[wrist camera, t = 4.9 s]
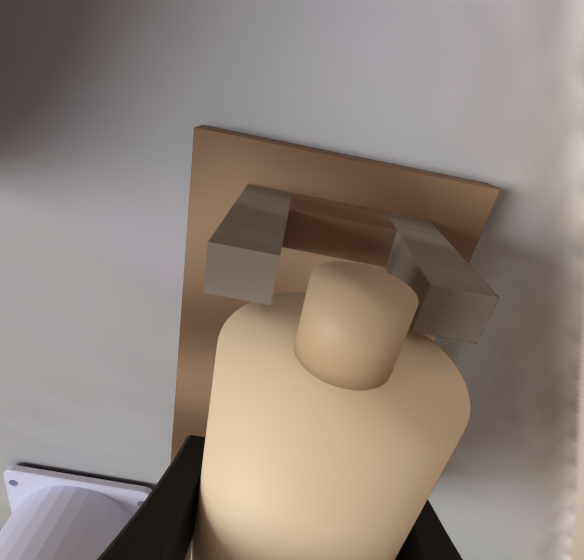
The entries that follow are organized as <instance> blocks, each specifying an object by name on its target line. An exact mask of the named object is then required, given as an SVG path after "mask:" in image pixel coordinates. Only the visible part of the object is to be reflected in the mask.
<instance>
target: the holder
mask: <svg viewBox="0 0 584 560" xmlns="http://www.w3.org/2000/svg"><path fill="white" fill-rule="evenodd" d="M499 191H500V190H499V189H497V188H495V187H493V186H491V185H489V184H487V183H483V182H478V181H473V180H468V179H463V178H458V177H453V176H448V175H444V174H439V173H434V172H429V171H424V170H419V169H414V168H409V167H404V166H400V165H395V164H390V163H385V162H380V161H375V160H370V159H365V158H361V157H356V156H351V155H346V154H341V153H336V152H331V151H326V150H322V149H317V148H312V147H307V146H302V145H297V144H292V143H287V142H283V141H278V140H273V139H268V138H263V137H258V136H253V135H248V134H244V133H239V132H234V131H229V130H224V129H219V128H214V127H209V126H205V125H201V126H198V127H195V128H194V139H193V153H192V168H191V182H190V196H189V210H188V224H187V239H186V253H185V267H184V281H183V295H182V310H181V324H180V338H179V352H178V366H177V381H176V395H175V409H174V423H173V437H172V452H171V463H172V461H173V460H174V458H175V456H176V455H177V453H178V451H179V450H180V448H181V446H182V445H183V443H184V441H185V439H186V437H187V436H189V435H196V436H201V437H206V430H207V422H208V414H209V405H210V397H211V389H212V381H213V373H214V365H215V357H216V349H217V342H218V337H219V334H220V331H221V329H222V327H223V325H224V324H225V322H226V321H227V319H228V318H229V317H230V316H231V315H232V314H233V313H234V312H235V311H236V310H238V309H239V308H241V307H242V306H244V305H246V304H248V303H250V302H256V303H262V304H267V305H271V301H272V296H273V295H274V294H281V293H291V292H306V291H307V287H308V283H309V278H310V274H311V271H312V270H313V268H314V267H316V266H317V265H319V264H322V263H326V262H336V261H341V262H352V263H358V264H363V265H367V266H370V267H374V268H377V269H379V270H382V271H384V272H387V273H389V274H391V275H393V276H395V277H397V278H398V279H400V280H402V281H403V282H404V283H406V284H407V285H408V286H409V287H411V288H412V290H413V291H414V292H415V293H416V295H417V297H418V301H419V302H418V306H417V309H416V312H415V314H414V317H413V319H412V322H411V324H410V328H411V330H412V332H417V333H422V334H425V335H426V336H427V337H429V338H430V339H431V340H432V341H433V342H435V340H436V337H437V336H438V337H443V338H449V339H454V340H459V341H465V342H470V343H475V344H477V342H478V340H479V338H480V336H481V334H482V332H483V330H484V328H485V326H486V324H487V322H488V320H489V318H490V316H491V314H492V312H493V310H494V308H495V306H496V304H497V302H498V300H499V297H498V296H497V295H496V294H495V293H494V291H493V290H492V289H491V288H490V287H489V286H488V285H487V284H486V283H485V281H484V280H483V279H482V278H481V277H480V276H479V275H478V274H477V273H476V272H475V270H474V269H473V268H472V267H471V266H470V265H469V264H468V263H469V261H470V258H471V256H472V254H473V251H474V249H475V247H476V245H477V242H478V240H479V238H480V235H481V233H482V231H483V228H484V226H485V224H486V221H487V219H488V217H489V214H490V212H491V210H492V207H493V205H494V203H495V200H496V198H497V196H498V193H499ZM192 543H193V538H192V541H191V544H190V547H189V550H188V553H187V556H186V559H185V560H190V559H191V551H192Z"/></svg>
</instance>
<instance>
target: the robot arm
mask: <svg viewBox="0 0 584 560" xmlns="http://www.w3.org/2000/svg"><path fill="white" fill-rule="evenodd" d="M205 438H206V437H201V436H196V435H189V436H187V437H186V439H185V441H184V443H183V445H182V446H181V448H180V450H179V451H178V453H177V455H176V456H175V458H174V460H173V461H172V463H171V464H170V466H169V467H168V469H167V470H166V472H165V473H164V475H163V476H162V478H161V479H160V481H159V482H158V483H157V485H156V486H155V487H154V489H153V490H152V489H150V488H149V487H146V486H140V485H134V484H128V483H122V482H116V481H109V480H103V479H97V478H91V477H85V476H79V475H73V474H67V473H61V472H55V471H49V470H43V469H37V468H31V467H25V466H19V465H11V466H9V467H8V468H7V469H6V470H5V472H4V479H5V484H6V488H7V493H8V497H9V502H10V506H11V511H12V515H11V516H10V518H9V519H8V521H7V522H6V523H5V525H4V526H3V528H2V529H1V531H0V560H185V559H186V556H187V553H188V550H189V547H190V544H191V541H192V538H193V535H194V527H195V519H196V511H197V503H198V494H199V486H200V478H201V470H202V462H203V454H204V446H205ZM395 560H463V559H462V558H461V556H460V554H459V553H458V551H457V549H456V548H455V546H454V544H453V543H452V541H451V539H450V538H449V536H448V534H447V533H446V531H445V529H444V527H443V526H442V524H441V522H440V520H439V518H438V517H437V515H436V513H435V511H434V510H433V508H432V506H431V504H430V502H429V501H428V499H427V501H426V503H425V505H424V507H423V509H422V510H421V512H420V514H419V516H418V518H417V520H416V521H415V523H414V525H413V527H412V529H411V531H410V532H409V534H408V536H407V538H406V540H405V542H404V544H403V545H402V547H401V549H400V551H399V553H398V555H397V556H396V558H395Z"/></svg>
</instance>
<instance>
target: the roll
mask: <svg viewBox="0 0 584 560" xmlns="http://www.w3.org/2000/svg"><path fill="white" fill-rule="evenodd" d="M418 302H419V301H418V297H417V295H416V293H415V292H414V291H413V290H412V288H411V287H409V286H408V285H407V284H406V283H404V282H403V281H402V280H400V279H398V278H397V277H395V276H393V275H391V274H389V273H387V272H384V271H382V270H379V269H377V268H374V267H370V266H367V265H363V264H358V263H352V262H341V261H336V262H326V263H322V264H319V265H317V266H316V267H314V268H313V270H312V271H311V274H310V278H309V283H308V287H307V291H306V292H291V293H281V294H274V295H273V296H272V301H271V305H267V304H262V303H256V302H250V303H248V304H246V305H244V306H242V307H241V308H239V309H238V310H236V311H235V312H234V313H233V314H232V315H231V316H230V317H229V318H228V319H227V321H226V322H225V324H224V325H223V327H222V329H221V331H220V334H219V337H218V342H217V349H216V357H215V365H214V373H213V381H212V389H211V397H210V405H209V414H208V422H207V430H206V438H205V446H204V454H203V462H202V470H201V478H200V486H199V494H198V503H197V511H196V519H195V527H194V535H193V543H192V551H191V559H190V560H395V558H396V556H397V555H398V553H399V551H400V549H401V547H402V545H403V544H404V542H405V540H406V538H407V536H408V534H409V532H410V531H411V529H412V527H413V525H414V523H415V521H416V520H417V518H418V516H419V514H420V512H421V510H422V509H423V507H424V505H425V503H426V501H427V499H428V497H429V496H430V494H431V492H432V490H433V488H434V486H435V485H436V483H437V481H438V479H439V477H440V475H441V474H442V472H443V470H444V468H445V466H446V464H447V463H448V461H449V459H450V457H451V455H452V453H453V451H454V450H455V448H456V446H457V444H458V442H459V440H460V439H461V437H462V435H463V433H464V431H465V429H466V427H467V424H468V421H469V418H470V409H471V405H470V397H469V393H468V389H467V386H466V383H465V381H464V379H463V377H462V375H461V373H460V372H459V370H458V369H457V367H456V366H455V364H454V363H453V362H452V360H451V359H450V358H449V357H448V356H447V354H446V353H445V352H444V351H443V350H442V349H441V348H440V347H439V346H438V345H437V344H436V343H434V342H433V341H432V340H431V339H430V338H429V337H427V336H426V335H425V334H422V333H417V332H412V330H411V328H410V324H411V322H412V319H413V317H414V314H415V312H416V309H417V306H418Z"/></svg>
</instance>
